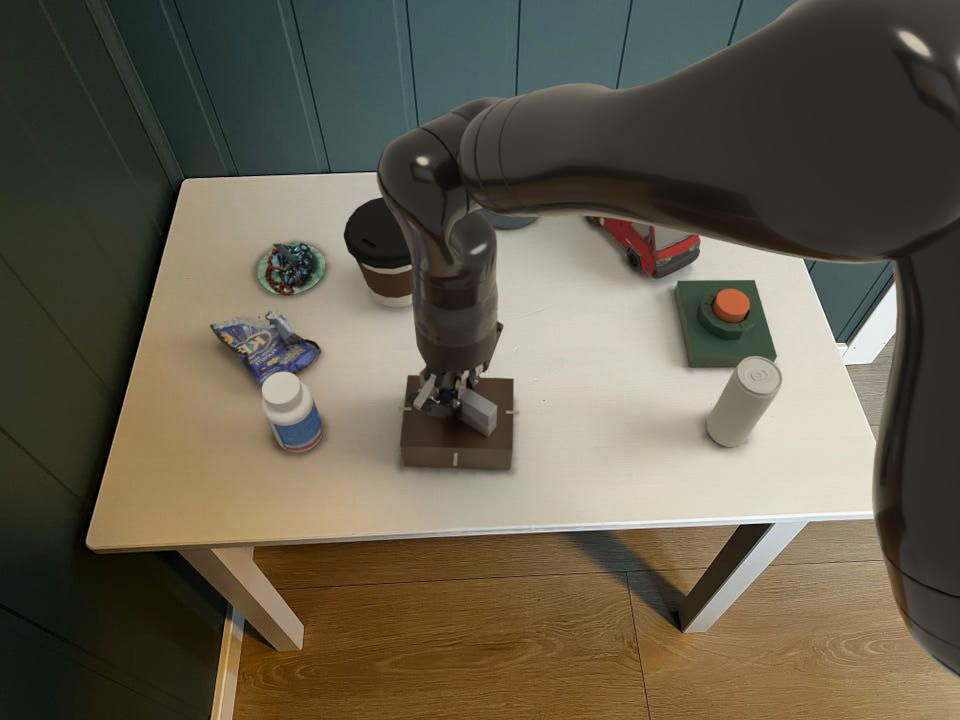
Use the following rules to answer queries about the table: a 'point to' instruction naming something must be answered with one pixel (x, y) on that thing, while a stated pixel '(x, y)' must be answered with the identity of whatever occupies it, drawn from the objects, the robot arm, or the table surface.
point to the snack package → (267, 345)
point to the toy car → (652, 245)
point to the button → (731, 305)
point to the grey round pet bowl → (506, 219)
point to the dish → (291, 268)
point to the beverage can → (744, 400)
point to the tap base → (459, 432)
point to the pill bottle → (291, 412)
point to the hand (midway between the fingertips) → (458, 408)
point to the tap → (475, 410)
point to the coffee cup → (380, 253)
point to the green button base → (721, 325)
